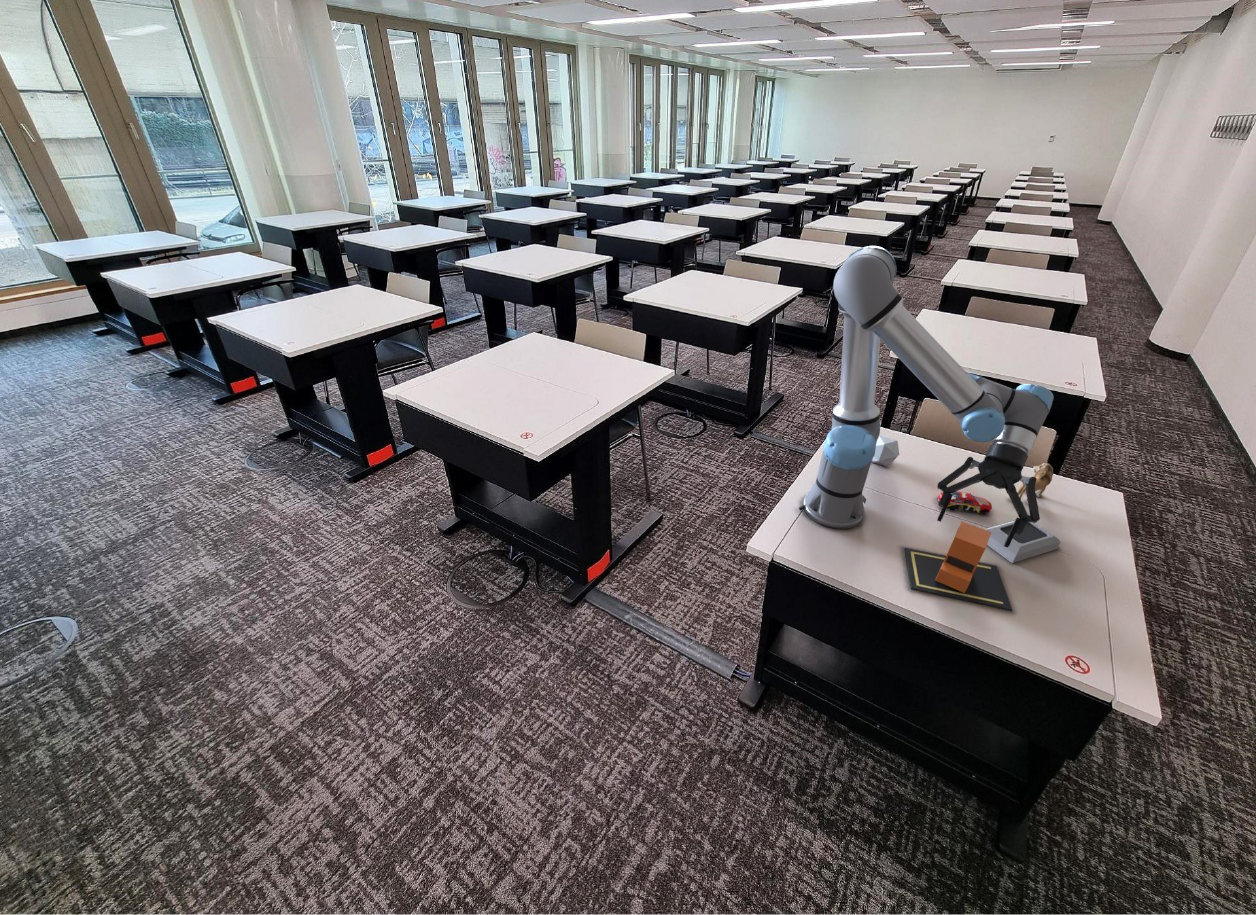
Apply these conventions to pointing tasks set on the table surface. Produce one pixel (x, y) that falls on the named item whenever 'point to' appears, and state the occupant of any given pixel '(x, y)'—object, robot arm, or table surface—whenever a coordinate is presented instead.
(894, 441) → the die
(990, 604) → the mat
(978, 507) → the race car
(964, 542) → the toy van
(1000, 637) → the table surface
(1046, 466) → the lion figurine
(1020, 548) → the grey low boxy piece
